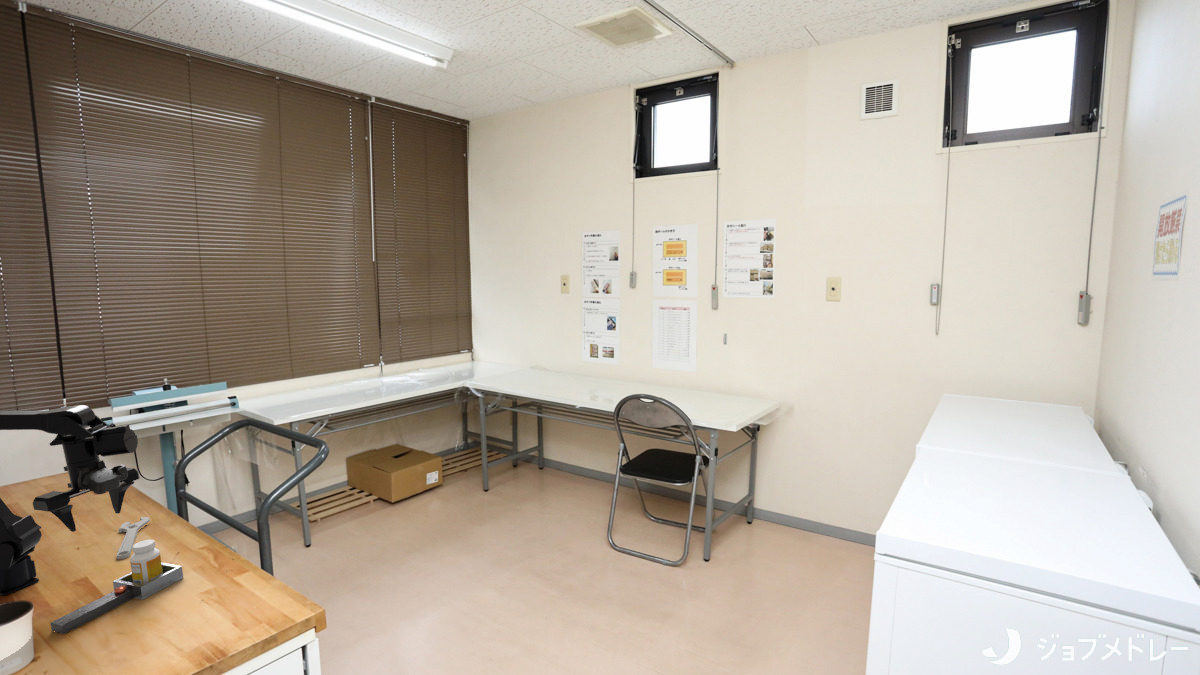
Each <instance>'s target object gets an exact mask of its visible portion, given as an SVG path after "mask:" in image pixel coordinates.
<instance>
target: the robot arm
mask: <svg viewBox="0 0 1200 675" xmlns="http://www.w3.org/2000/svg"><path fill="white" fill-rule="evenodd" d="M3 430H4V431H19V430H22V431H23V430H25V431H26V430H27V431H28V430H35V431H42V432H44V433H47V434H53V435H56V436H55V438H54V439H53V440H52V441H51V442H49V446H50V447H54V446H62V449H63V455H64V459H65V464H66V466H63V471H64V472H68V477H69V482H68V483H67V488H68V490H65V491H57V490H52V491H50V492H47V493H44V494H41V495H38V496H36V497H35V498H34V500H33V501H32V507H33V510H34V511H42V512H49V513H51V514H53V516H56V518H57V519H58V520H60V521H61V522H62V524H63V525H64V526H65V527H67V529H68V530H69V531H71V532H73V533H74V532H76V531H77V528H76V523H75V519H74V517H73V513H72V508H73V506H74V505H73V504H70V501H71V499H73V498H76V497H78V496H82V495H84V494H87V493H90V492H93V493H94V494H95V495H103V494H106V493H108V494H109V498H110V501H111V505H112V508H113V510H114V512H115V514H116V515H117V514H121V510H122V507H123V503H124V498H125V495H126V492H127V490H128V489H129V488H130V486H132V485H134V484H135V481H137V480H140V472H139V471H138V469H137V468H134V467H127V466H126V465H124V464H122V463H121V464H119V465H115V466H113V467H110V468H107V466H106V463H105V461H104V460H103V459H101V460H100V456H101V457H111V456H118V455H125V454H132V453H134V452H136V450H137V448H138V444H139V443H138V442H139V441H138V435H137V434H136V433H135V431H134V430H133V429H131V426H130V424H128V423H126V424H121V425H119V426H118V425H117V426H112V427H111V426H110V424H108V423H107V422H105V421H104V420H102V419H101V418H100V417H99V416H98V415H97V414H95V412H94V410H93V409H91V408H90V407H89V406H88V405H84V404H75V405H71V406H64V407H58V408H53V409H46V410H0V431H3ZM41 529H42V526H41V525H39V524H38V523H36V521H35V519H34V518H33V516H32V515H31V514H29V515H26V516H24V517H21V516H19V515H17V514H15V513H13V512H12V511H11V508H9V507H8V506H7V504H6V503H5V502H4V501H3V499H2V498H1V497H0V596H7V595H10V594H12V593H14V592H17V591H18V590H21V589H23V588H25V587H28V586H31V585H33V584H35V583H37V582H39V581H40V579H39V578H38V577H37V576H38V575H37V570H36V564H35V560H34V559H32V556H31V555H30V554H31V553H33V552H34V551H35V548H36V545H38V544H39V542H40V541H41V539H42V536H43V535H42V531H41Z"/></svg>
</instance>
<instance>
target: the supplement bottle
mask: <svg viewBox="0 0 1200 675" xmlns="http://www.w3.org/2000/svg"><path fill="white" fill-rule="evenodd" d="M132 552H133V554H132V555H130V558H129V561H130V562H129V563H130V570H131V572H132V578H133V583H135V584H140V585H143V584H145V583H147V582H149V581H151V580H153V579H155V578H157V577H158V576H160V575H162V574H163V571H162V563H161V562H162V557H161V550H159V548H158V547H157V548H156V540H154V539H145V540H141V541H138V542H135V543H134V545H133V549H132Z"/></svg>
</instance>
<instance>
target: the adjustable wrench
mask: <svg viewBox="0 0 1200 675" xmlns="http://www.w3.org/2000/svg"><path fill="white" fill-rule="evenodd" d="M140 520H141V521H140ZM149 521H150V522H151V520H150V517H148V516H141V517H140V518H139V521H136V522H134V523H131V522H129V521H125V522H124V523H122V524H121V525H120V527H118V533H124V532H126V533H125V535H124V538H123V540H122V542H121V544H120V546H119V549H118V551H117V553H116V559H117V560H124V559H128V558H129V557H131V555H130V554H132V552H133V549H132V548H133V544H135V543H134V541H135V542H136V540H135V538H136V539H137V536H138V533H139V532H138V530H139V529H140V528H141V527H143V526H144V525H145V524H147V523H148V522H149ZM137 532H138V533H137ZM136 535H137V536H136ZM131 551H132V552H131Z"/></svg>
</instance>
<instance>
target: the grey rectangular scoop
mask: <svg viewBox="0 0 1200 675" xmlns="http://www.w3.org/2000/svg"><path fill="white" fill-rule="evenodd" d="M161 563H162V571H163V574H162V575H160V576H158V577H157V578H155V579H153V580H151V581H149V582H147V583H145V584H143V585H140V584H135V583H133V578H132V571H131V572H129V573H127V574H125V575H123V576H121V577H119V578H117V579H114V580H112V584H113V585H112V586H113V591H112V592H109V593H107V594H105V595H103V596H101V597H99V598H97V599H95V600H93V601H91V602H89V603H87V604H85V605H83V606H81V607H78V608H77V609H75V610H73V611H71V612H69V613H67V614H64V615H63V616H60V617H59V618H57V619H55V620H53V621H51V622H50V627H51V632H52V631H55V632H59V633H62V634H64V633H66V632H68V631H70V630H72V629H73V630H75V629H77V628H79V627H81V626H83V625H85V624H87V623H89V622H91V621H92V620H94V619H96V618H99V617H100V616H102V615H104V614H106V613H108V612H110V611H111V610H114V609H116V608H117V607H119V606H121V605H124V604H125V603H127V602H129V601H131V600H133V599H135V600H136V599H137V600H140V601H141V600H142V601H143V600H145V599H148V598H149V597H150V596H153V595H155V594H157V593H158V592H160V591H162V590H164V589H166V588H168V587H170V586H171V584H172V585H173V584H175V583H177V582H179V581H181V580H183V579H184V573H183V566H182V565H176V564H172V563H168V562H167V563H166V562H162V561H161ZM73 630H72V631H73ZM55 632H54V633H55ZM70 632H71V631H70ZM59 633H58V634H59ZM68 633H69V632H68ZM62 634H61V635H62ZM66 634H67V633H66ZM64 635H65V634H64Z"/></svg>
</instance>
